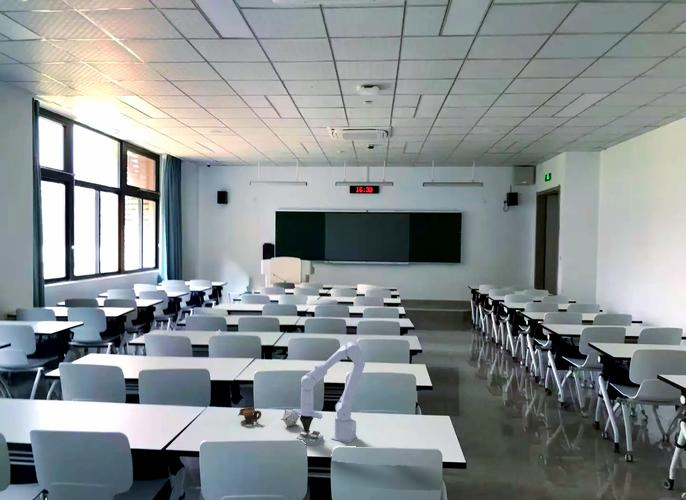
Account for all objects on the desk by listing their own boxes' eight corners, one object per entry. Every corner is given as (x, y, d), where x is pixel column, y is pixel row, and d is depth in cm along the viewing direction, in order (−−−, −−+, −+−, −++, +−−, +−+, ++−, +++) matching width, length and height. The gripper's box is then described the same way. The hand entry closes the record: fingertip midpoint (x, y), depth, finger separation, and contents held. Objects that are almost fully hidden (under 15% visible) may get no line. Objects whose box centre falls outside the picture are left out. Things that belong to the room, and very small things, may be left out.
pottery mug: (235, 426, 232) (234, 409, 235) (243, 428, 240) (242, 411, 244) (259, 422, 230) (257, 404, 234) (266, 424, 238) (265, 407, 242)
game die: (286, 434, 232) (274, 417, 232) (295, 422, 239) (283, 406, 239) (298, 429, 227) (285, 413, 226) (307, 417, 234) (294, 401, 233)
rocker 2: (319, 433, 216) (319, 431, 216) (316, 438, 213) (316, 436, 213) (313, 432, 218) (313, 430, 217) (310, 437, 214) (309, 435, 214)
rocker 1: (309, 431, 218) (309, 429, 218) (306, 436, 215) (305, 434, 215) (304, 430, 220) (303, 428, 219) (300, 435, 216) (299, 433, 216)
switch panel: (323, 439, 218) (323, 434, 218) (316, 446, 211) (316, 440, 211) (303, 435, 222) (303, 430, 222) (296, 442, 215) (296, 436, 215)
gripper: (325, 401, 219) (324, 431, 220) (297, 397, 225) (296, 425, 225) (318, 407, 213) (318, 437, 213) (289, 402, 218) (289, 431, 219)
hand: (306, 431), depth 219 cm, fingers closed, pressing on rocker 1
